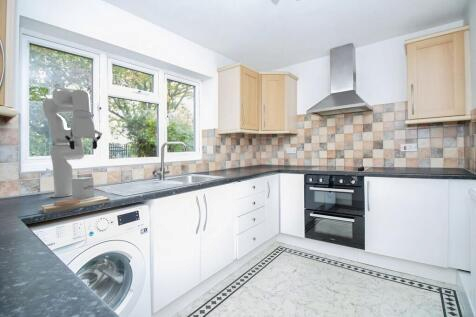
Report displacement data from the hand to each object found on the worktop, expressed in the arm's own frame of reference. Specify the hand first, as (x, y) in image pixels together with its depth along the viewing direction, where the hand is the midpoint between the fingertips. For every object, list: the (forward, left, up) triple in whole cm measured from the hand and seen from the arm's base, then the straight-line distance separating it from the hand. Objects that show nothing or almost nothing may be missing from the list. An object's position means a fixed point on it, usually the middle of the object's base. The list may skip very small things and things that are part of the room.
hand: (84, 149), depth 118 cm
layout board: (+1, -5, -28) cm, 29 cm away
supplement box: (-10, +1, -28) cm, 30 cm away
